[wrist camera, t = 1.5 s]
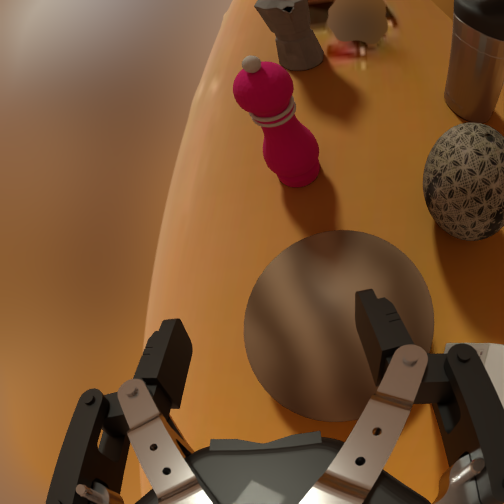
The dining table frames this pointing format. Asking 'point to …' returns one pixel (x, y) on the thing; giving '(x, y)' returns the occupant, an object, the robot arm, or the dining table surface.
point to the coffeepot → (292, 32)
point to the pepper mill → (277, 121)
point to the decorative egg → (466, 181)
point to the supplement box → (490, 363)
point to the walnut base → (328, 320)
